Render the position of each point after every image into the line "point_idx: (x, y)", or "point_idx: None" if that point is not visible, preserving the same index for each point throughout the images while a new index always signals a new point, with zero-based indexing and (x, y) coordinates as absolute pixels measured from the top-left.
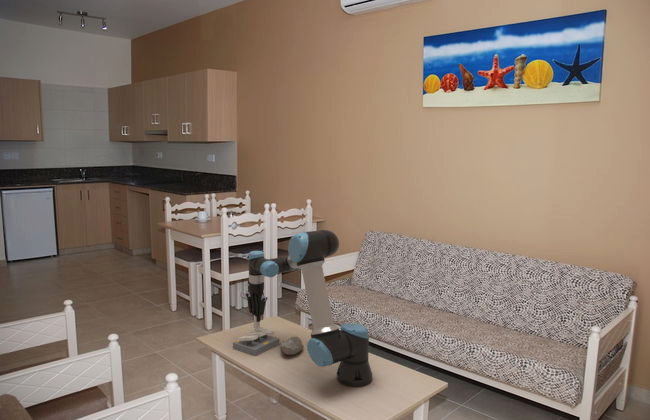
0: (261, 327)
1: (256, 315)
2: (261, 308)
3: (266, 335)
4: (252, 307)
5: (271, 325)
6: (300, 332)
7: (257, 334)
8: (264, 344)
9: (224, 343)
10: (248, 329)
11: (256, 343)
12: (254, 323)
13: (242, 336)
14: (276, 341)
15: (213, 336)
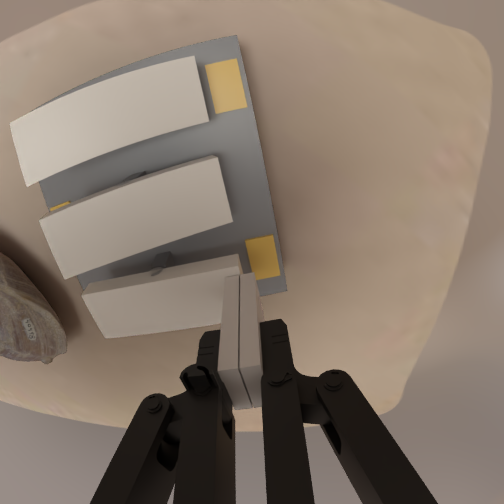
0: (219, 320)
1: (189, 378)
2: (101, 483)
3: None
4: (299, 459)
5: None
6: None
7: (70, 206)
8: (54, 206)
9: (354, 57)
10: (407, 290)
11: (97, 172)
12: (242, 300)
13: (202, 108)
14: None
15: (474, 95)
